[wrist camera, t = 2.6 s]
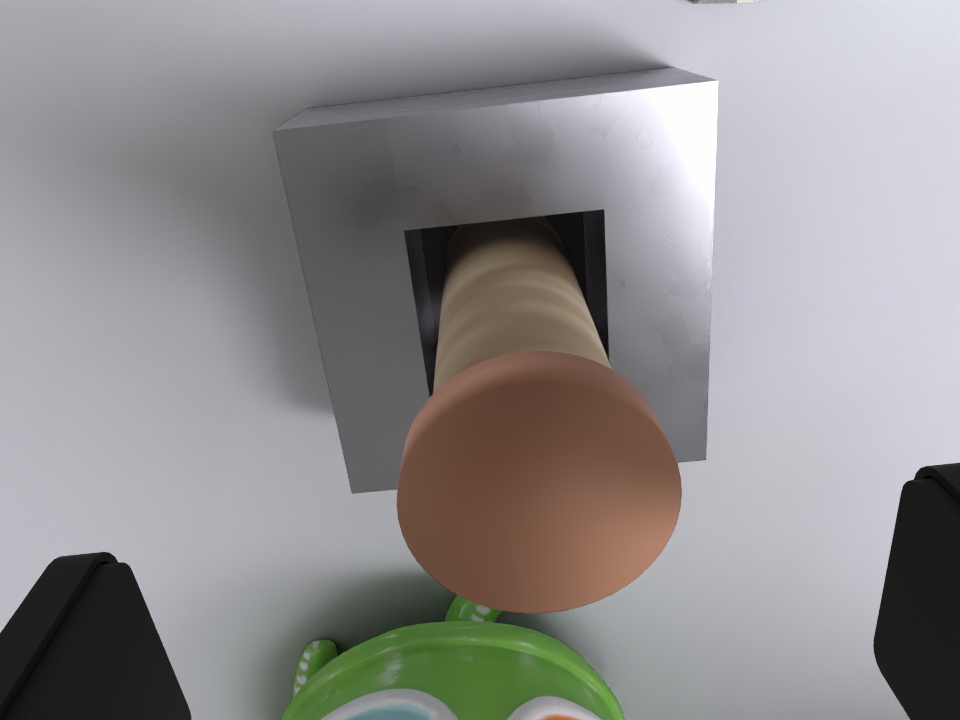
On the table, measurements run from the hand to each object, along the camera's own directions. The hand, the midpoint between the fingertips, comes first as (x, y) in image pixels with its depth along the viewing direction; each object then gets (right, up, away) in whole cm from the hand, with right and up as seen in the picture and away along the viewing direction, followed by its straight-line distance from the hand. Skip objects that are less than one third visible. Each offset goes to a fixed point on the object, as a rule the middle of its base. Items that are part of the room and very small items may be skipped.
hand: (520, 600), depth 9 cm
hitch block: (0, +6, +13) cm, 14 cm away
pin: (0, +6, +13) cm, 14 cm away
